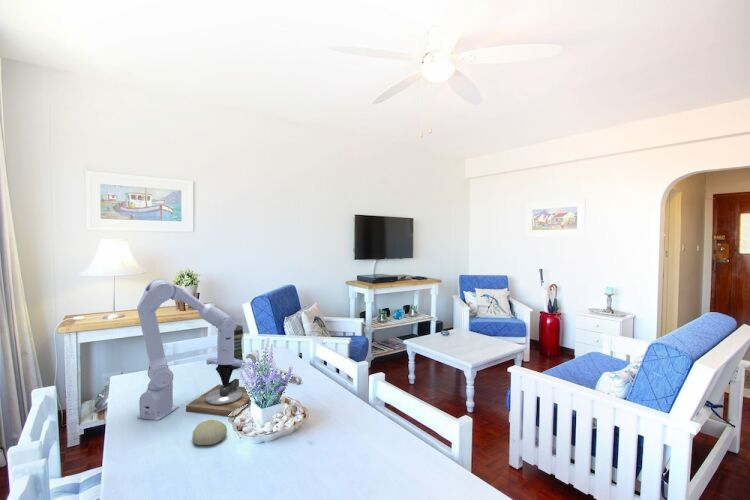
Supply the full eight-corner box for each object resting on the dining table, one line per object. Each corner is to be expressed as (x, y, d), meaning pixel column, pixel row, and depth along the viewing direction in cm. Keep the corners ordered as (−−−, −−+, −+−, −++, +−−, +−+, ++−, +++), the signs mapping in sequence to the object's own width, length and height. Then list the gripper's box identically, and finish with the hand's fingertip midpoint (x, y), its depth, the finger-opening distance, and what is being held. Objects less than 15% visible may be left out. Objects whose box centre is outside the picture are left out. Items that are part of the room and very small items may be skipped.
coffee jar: (226, 372, 158) (226, 329, 157) (216, 367, 162) (216, 326, 162) (246, 365, 165) (246, 325, 165) (235, 362, 170) (236, 322, 169)
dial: (229, 406, 121) (229, 396, 121) (197, 403, 123) (197, 393, 123) (251, 389, 135) (251, 380, 135) (222, 386, 137) (222, 377, 137)
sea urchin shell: (217, 420, 113) (225, 408, 109) (225, 445, 109) (233, 434, 105) (186, 430, 106) (193, 418, 102) (192, 457, 103) (200, 446, 98)
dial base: (234, 417, 119) (234, 410, 118) (185, 411, 122) (185, 404, 122) (261, 394, 136) (261, 388, 136) (218, 389, 140) (218, 383, 139)
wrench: (297, 392, 146) (244, 369, 159) (300, 390, 147) (247, 368, 161) (299, 372, 145) (246, 352, 159) (302, 371, 147) (249, 351, 160)
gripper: (249, 346, 137) (249, 381, 137) (214, 343, 139) (214, 378, 140) (239, 352, 130) (239, 389, 130) (202, 349, 132) (202, 385, 133)
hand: (225, 384), depth 135 cm, fingers closed
